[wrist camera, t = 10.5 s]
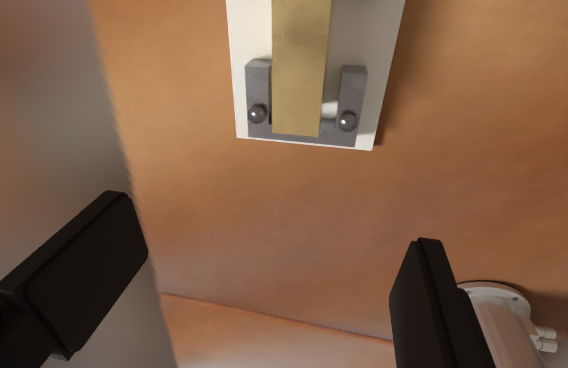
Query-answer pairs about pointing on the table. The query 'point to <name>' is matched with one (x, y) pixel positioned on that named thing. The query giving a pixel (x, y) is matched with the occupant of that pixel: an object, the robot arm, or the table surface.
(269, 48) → the board
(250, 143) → the table surface
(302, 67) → the tall tan wooden block
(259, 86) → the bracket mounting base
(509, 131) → the table surface
